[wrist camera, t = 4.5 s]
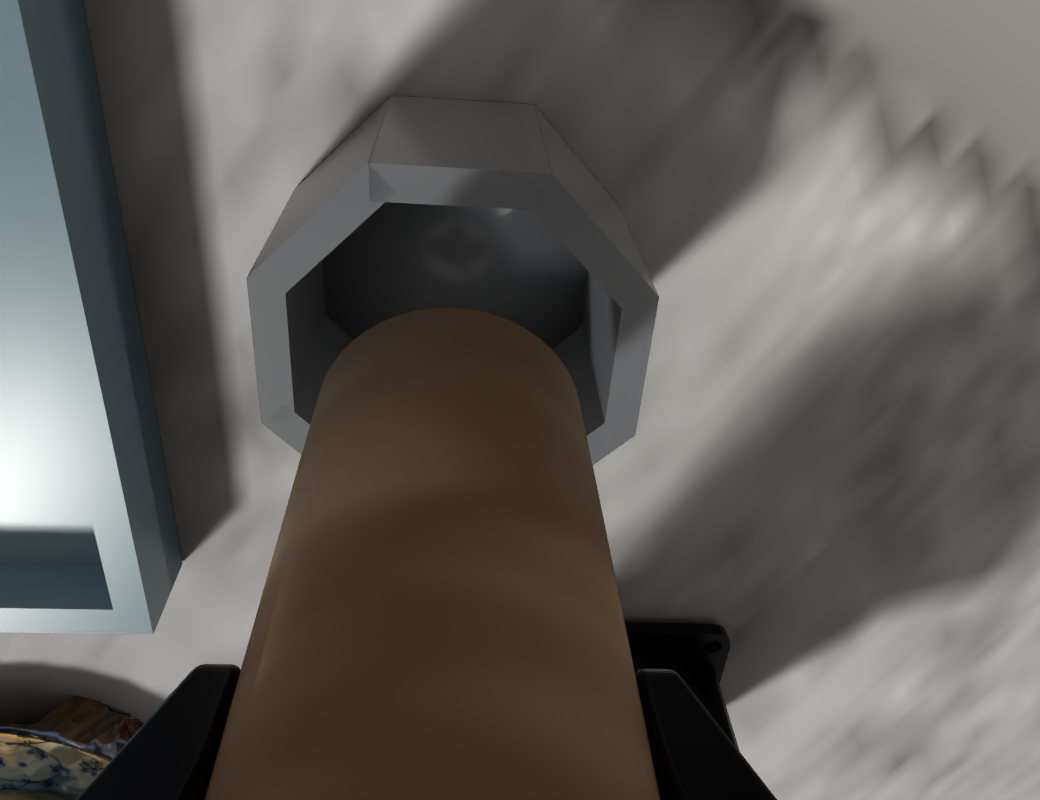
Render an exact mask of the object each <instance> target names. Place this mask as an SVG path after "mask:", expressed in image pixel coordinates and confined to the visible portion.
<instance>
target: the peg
mask: <svg viewBox="0 0 1040 800" xmlns="http://www.w3.org/2000/svg"><path fill="white" fill-rule="evenodd" d="M204 800H661V799H660V794H659V789H658V784H657V779H656V774H655V770H654V765H653V760H652V755H651V750H650V745H649V740H648V735H647V730H646V725H645V720H644V716H643V711H642V706H641V701H640V696H639V691H638V686H637V681H636V676H635V671H634V667H633V662H632V657H631V652H630V647H629V642H628V637H627V632H626V627H625V622H624V617H623V613H622V608H621V603H620V598H619V593H618V588H617V583H616V578H615V573H614V568H613V563H612V559H611V554H610V549H609V544H608V539H607V534H606V529H605V524H604V519H603V514H602V510H601V505H600V500H599V495H598V490H597V485H596V480H595V475H594V470H593V465H592V460H591V456H590V451H589V446H588V441H587V436H586V431H585V426H584V421H583V416H582V411H581V406H580V402H579V398H578V394H577V390H576V387H575V385H574V383H573V380H572V378H571V376H570V374H569V372H568V371H567V369H566V367H565V366H564V364H563V363H562V361H561V360H560V359H559V357H558V356H557V355H556V354H555V353H554V352H553V350H552V349H551V348H550V347H549V346H547V345H546V344H545V343H544V342H543V341H542V340H541V339H540V338H538V337H537V336H535V335H534V334H533V333H531V332H530V331H528V330H527V329H525V328H523V327H521V326H519V325H518V324H516V323H514V322H512V321H510V320H507V319H504V318H502V317H499V316H496V315H493V314H490V313H486V312H481V311H477V310H472V309H462V308H431V309H424V310H417V311H413V312H409V313H405V314H401V315H398V316H396V317H393V318H390V319H388V320H385V321H383V322H381V323H379V324H377V325H375V326H374V327H372V328H370V329H368V330H367V331H365V332H364V333H362V334H361V335H360V336H358V337H357V338H356V339H354V340H353V341H352V342H351V343H350V344H349V345H348V346H347V347H346V348H345V349H344V350H343V351H342V352H341V353H340V354H339V356H338V357H337V358H336V360H335V361H334V362H333V364H332V365H331V367H330V369H329V371H328V372H327V374H326V376H325V378H324V381H323V383H322V386H321V389H320V392H319V395H318V399H317V402H316V406H315V409H314V413H313V416H312V420H311V424H310V427H309V431H308V434H307V438H306V441H305V445H304V448H303V452H302V455H301V459H300V463H299V466H298V470H297V473H296V477H295V480H294V484H293V487H292V491H291V494H290V498H289V501H288V505H287V509H286V512H285V516H284V519H283V523H282V526H281V530H280V533H279V537H278V540H277V544H276V548H275V551H274V555H273V558H272V562H271V565H270V569H269V572H268V576H267V579H266V583H265V586H264V590H263V594H262V597H261V601H260V604H259V608H258V611H257V615H256V618H255V622H254V625H253V629H252V633H251V636H250V640H249V643H248V647H247V650H246V654H245V657H244V661H243V664H242V668H241V672H240V675H239V679H238V682H237V686H236V689H235V693H234V696H233V700H232V703H231V707H230V710H229V714H228V718H227V721H226V725H225V728H224V732H223V735H222V739H221V742H220V746H219V749H218V753H217V757H216V760H215V764H214V767H213V771H212V774H211V778H210V781H209V785H208V788H207V792H206V796H205V799H204Z"/></svg>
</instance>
